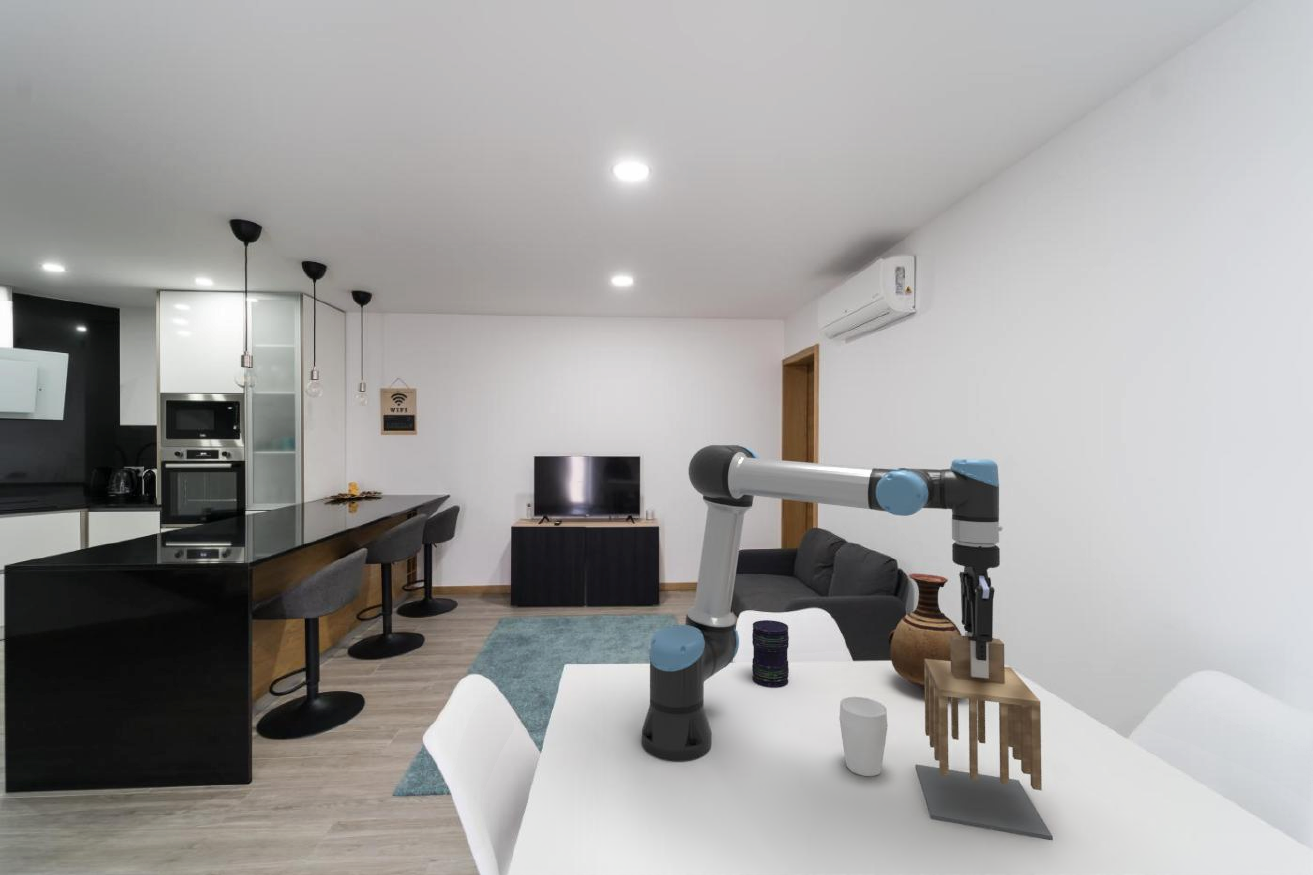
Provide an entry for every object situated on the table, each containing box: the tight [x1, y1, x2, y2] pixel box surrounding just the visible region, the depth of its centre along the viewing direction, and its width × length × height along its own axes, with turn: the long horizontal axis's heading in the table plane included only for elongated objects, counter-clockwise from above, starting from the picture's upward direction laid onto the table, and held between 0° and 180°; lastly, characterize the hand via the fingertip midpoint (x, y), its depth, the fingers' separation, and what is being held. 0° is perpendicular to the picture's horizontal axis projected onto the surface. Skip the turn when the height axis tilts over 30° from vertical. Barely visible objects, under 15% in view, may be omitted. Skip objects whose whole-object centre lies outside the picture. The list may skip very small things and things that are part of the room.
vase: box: [887, 573, 962, 691], centre depth 146 cm, size 21×18×30 cm
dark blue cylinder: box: [751, 619, 790, 689], centre depth 152 cm, size 10×10×15 cm
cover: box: [924, 634, 1043, 791], centre depth 100 cm, size 15×15×22 cm
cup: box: [838, 696, 889, 777], centre depth 110 cm, size 9×9×12 cm
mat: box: [914, 763, 1053, 841], centre depth 100 cm, size 18×16×1 cm
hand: (976, 672), depth 100 cm, fingers closed on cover, 3 cm apart
